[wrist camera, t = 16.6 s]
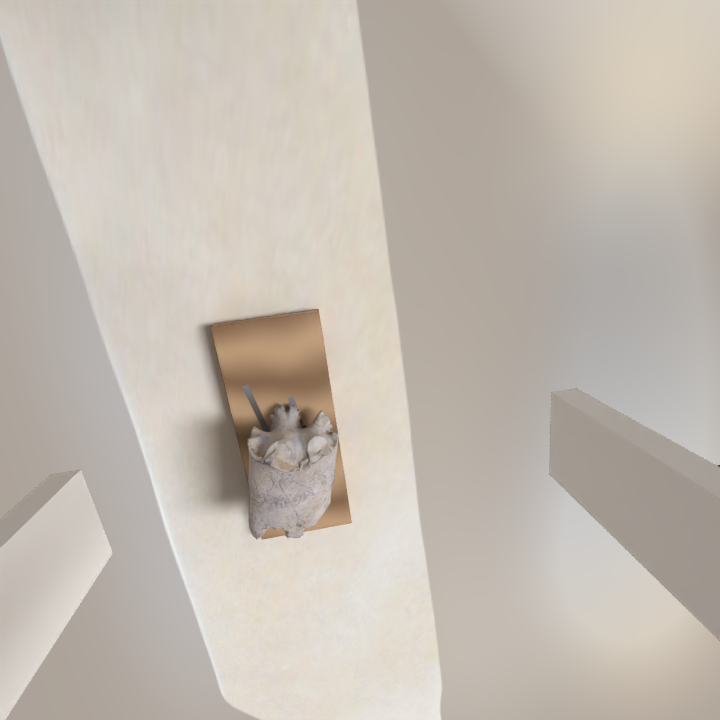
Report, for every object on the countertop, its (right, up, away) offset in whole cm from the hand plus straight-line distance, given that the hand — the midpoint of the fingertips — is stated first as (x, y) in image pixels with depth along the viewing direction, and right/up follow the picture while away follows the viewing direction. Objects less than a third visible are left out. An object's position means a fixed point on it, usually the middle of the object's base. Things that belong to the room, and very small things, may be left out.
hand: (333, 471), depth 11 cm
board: (-7, -4, +31) cm, 32 cm away
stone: (-6, -7, +30) cm, 31 cm away
